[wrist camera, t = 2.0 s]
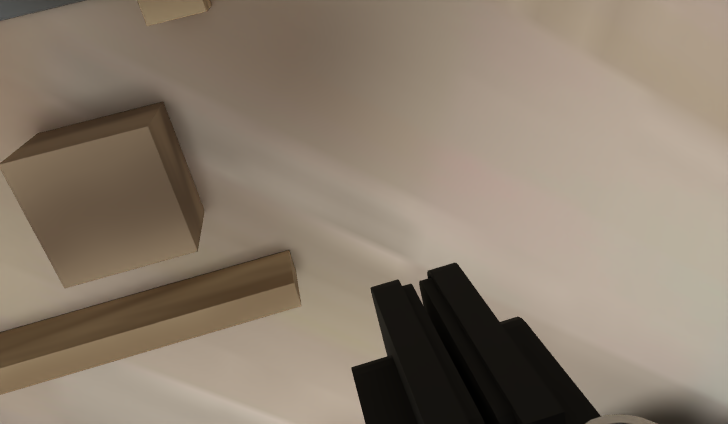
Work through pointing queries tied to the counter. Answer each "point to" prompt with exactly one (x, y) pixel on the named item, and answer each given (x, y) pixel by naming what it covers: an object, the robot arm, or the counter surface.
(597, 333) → the counter surface
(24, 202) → the walnut block
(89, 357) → the trap box
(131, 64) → the counter surface
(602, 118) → the counter surface
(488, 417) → the robot arm
